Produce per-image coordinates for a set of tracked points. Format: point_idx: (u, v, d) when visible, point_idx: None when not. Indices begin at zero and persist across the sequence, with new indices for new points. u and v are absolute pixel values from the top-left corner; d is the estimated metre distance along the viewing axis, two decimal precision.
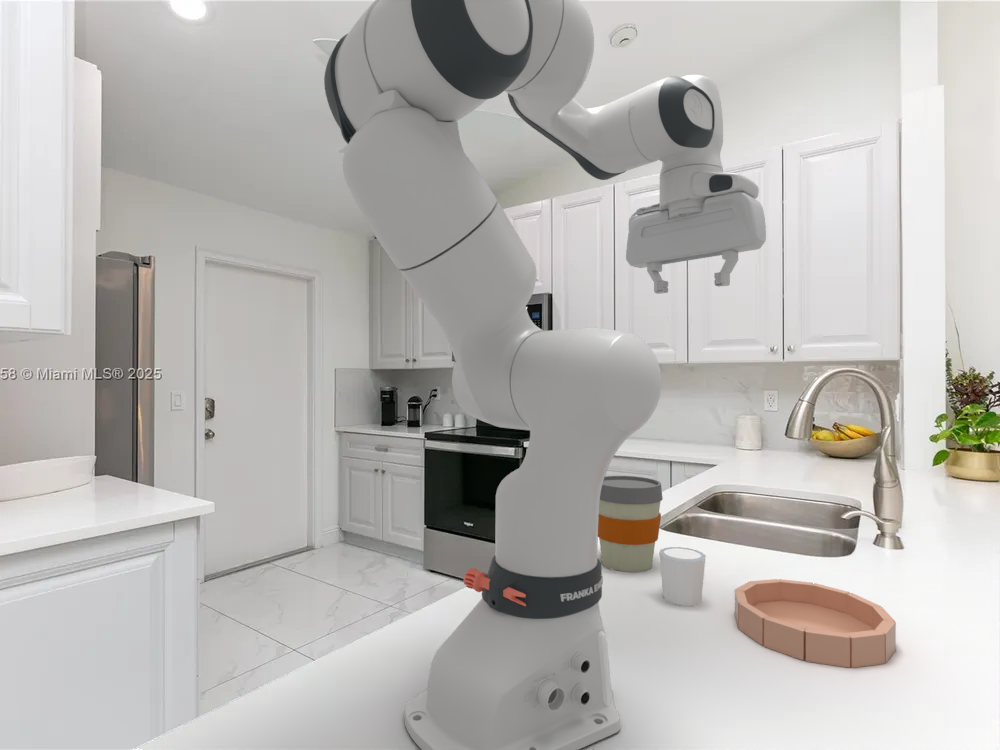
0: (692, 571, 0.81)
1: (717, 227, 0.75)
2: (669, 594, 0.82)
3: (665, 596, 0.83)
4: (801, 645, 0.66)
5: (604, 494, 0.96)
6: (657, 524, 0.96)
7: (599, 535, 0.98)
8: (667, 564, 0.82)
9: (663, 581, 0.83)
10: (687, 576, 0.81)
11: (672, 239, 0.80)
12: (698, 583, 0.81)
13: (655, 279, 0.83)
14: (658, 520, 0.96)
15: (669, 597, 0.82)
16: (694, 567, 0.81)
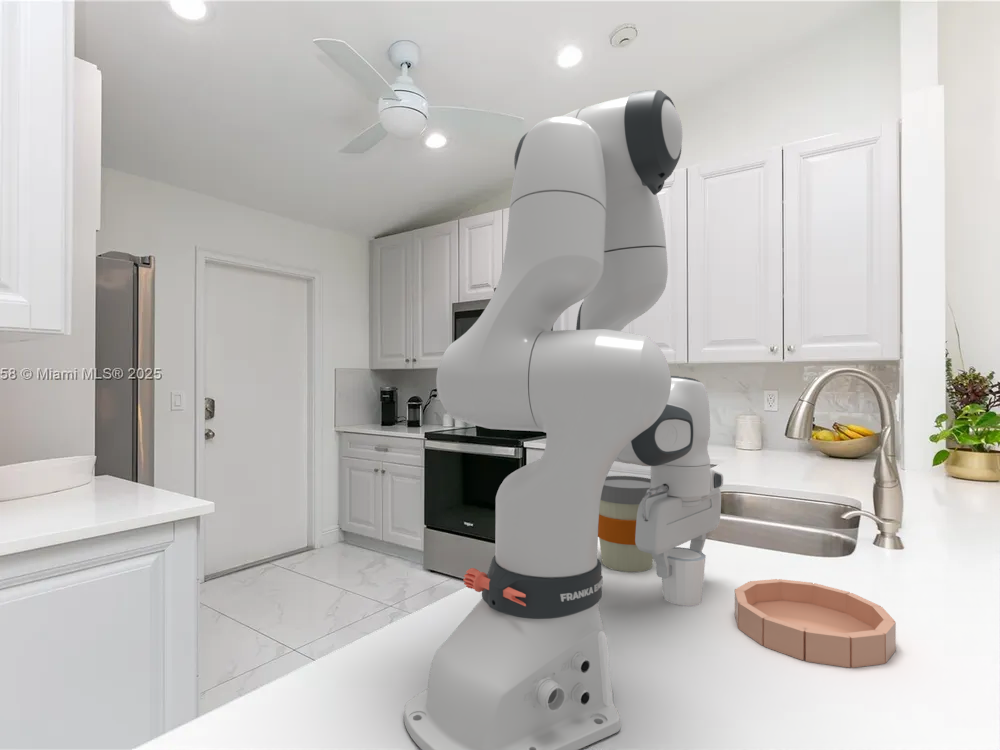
0: (692, 571, 0.81)
1: (705, 514, 0.86)
2: (669, 594, 0.82)
3: (665, 596, 0.83)
4: (801, 645, 0.66)
5: (604, 494, 0.96)
6: None
7: (599, 535, 0.98)
8: None
9: (663, 581, 0.83)
10: (687, 576, 0.81)
11: (684, 526, 0.82)
12: (698, 583, 0.81)
13: (668, 565, 0.80)
14: None
15: (669, 597, 0.82)
16: (694, 567, 0.81)
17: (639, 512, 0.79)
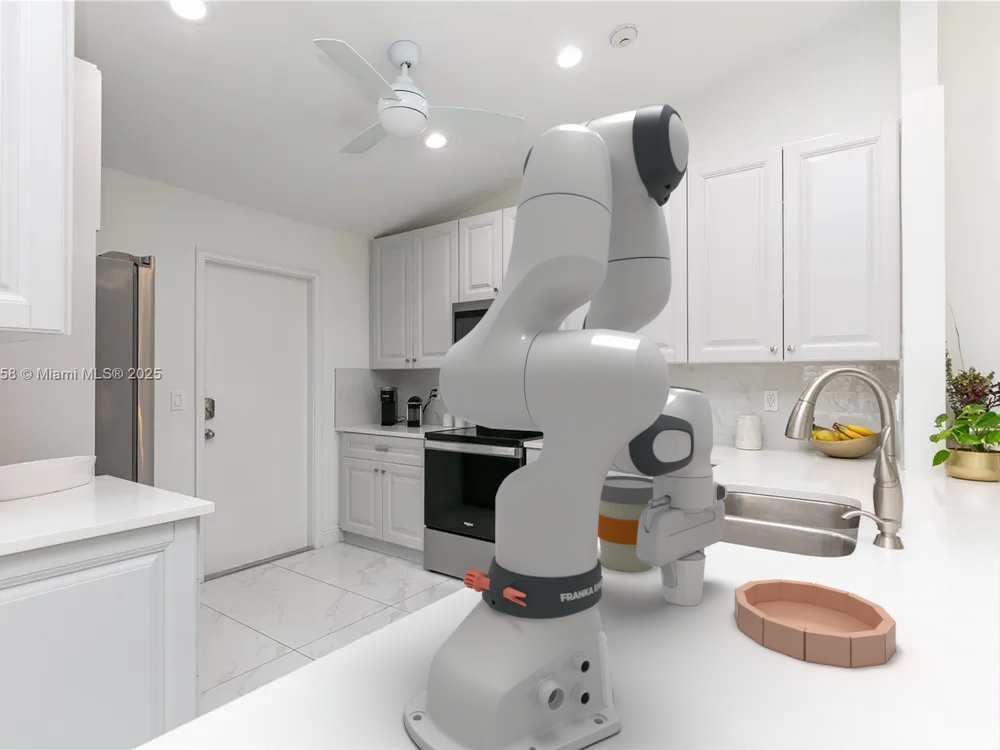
0: (692, 571, 0.81)
1: (708, 526, 0.86)
2: (669, 594, 0.82)
3: (665, 596, 0.83)
4: (801, 645, 0.66)
5: (604, 494, 0.96)
6: None
7: (599, 535, 0.98)
8: None
9: (663, 581, 0.83)
10: (687, 576, 0.81)
11: (687, 538, 0.81)
12: (698, 583, 0.81)
13: (675, 575, 0.81)
14: None
15: (669, 597, 0.82)
16: (694, 567, 0.81)
17: (640, 523, 0.78)
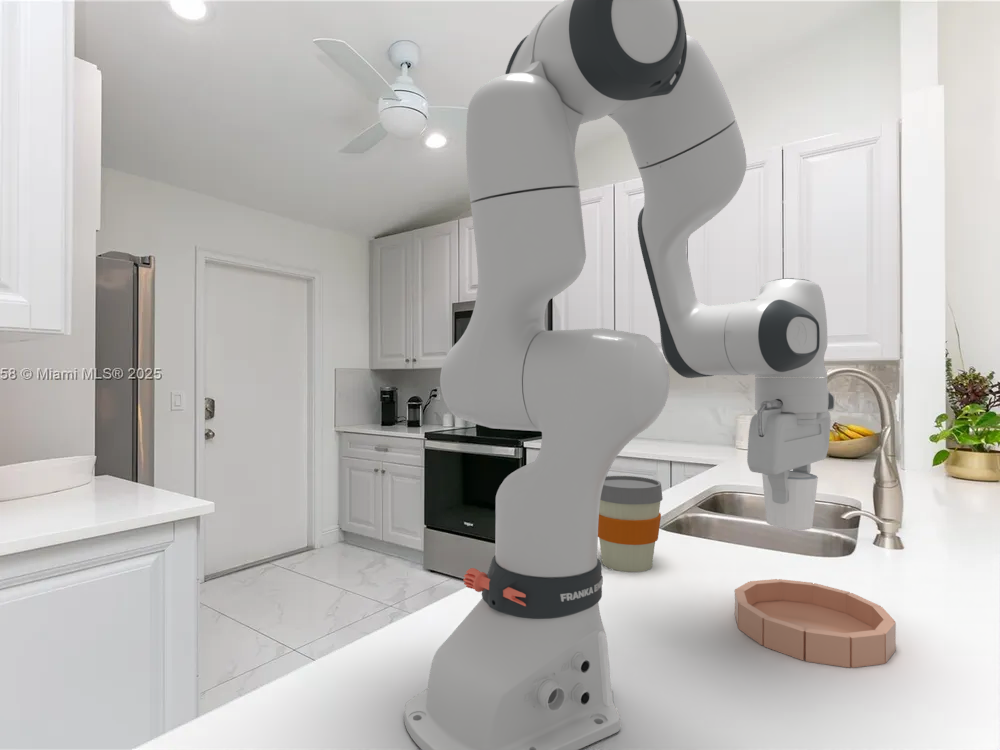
0: (804, 490, 0.72)
1: (816, 440, 0.77)
2: (776, 518, 0.74)
3: (770, 521, 0.75)
4: (801, 645, 0.66)
5: (604, 494, 0.96)
6: (657, 524, 0.96)
7: (599, 535, 0.98)
8: None
9: (768, 504, 0.75)
10: (798, 496, 0.72)
11: (799, 448, 0.72)
12: (810, 505, 0.72)
13: (787, 489, 0.72)
14: (658, 520, 0.96)
15: (776, 521, 0.74)
16: (806, 486, 0.72)
17: (752, 428, 0.69)
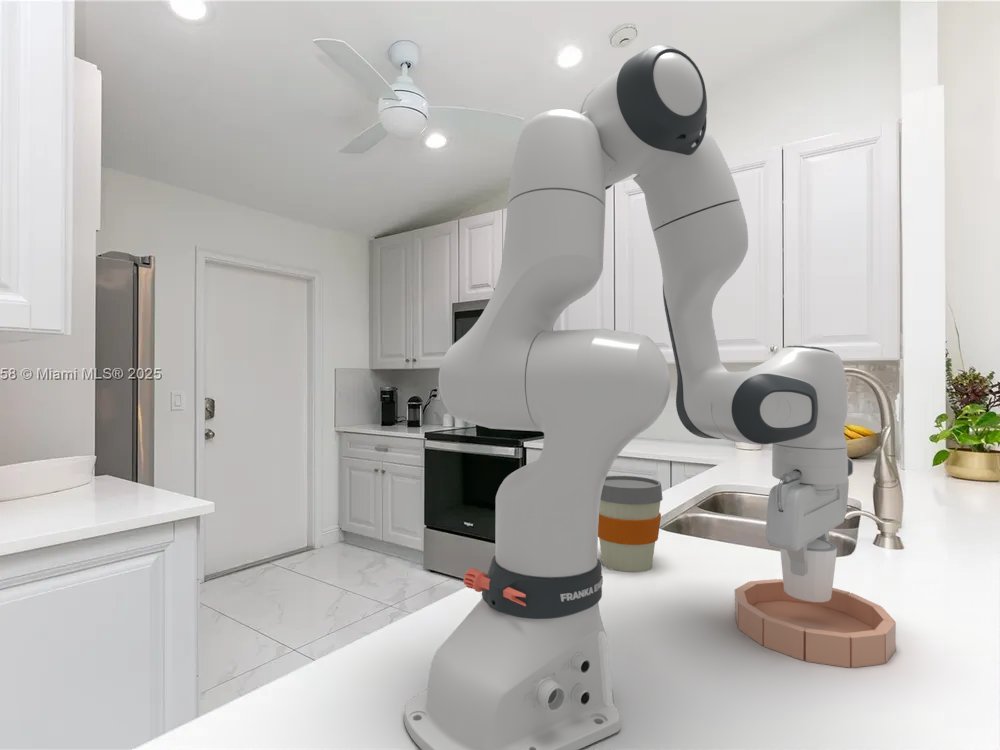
0: (824, 563, 0.70)
1: (834, 506, 0.75)
2: (794, 589, 0.72)
3: (788, 591, 0.73)
4: (801, 645, 0.66)
5: (604, 494, 0.96)
6: (657, 524, 0.96)
7: (599, 535, 0.98)
8: None
9: (785, 573, 0.73)
10: (818, 568, 0.71)
11: (818, 519, 0.71)
12: (829, 576, 0.71)
13: (806, 561, 0.70)
14: (658, 520, 0.96)
15: (794, 592, 0.72)
16: (826, 558, 0.70)
17: (771, 501, 0.68)
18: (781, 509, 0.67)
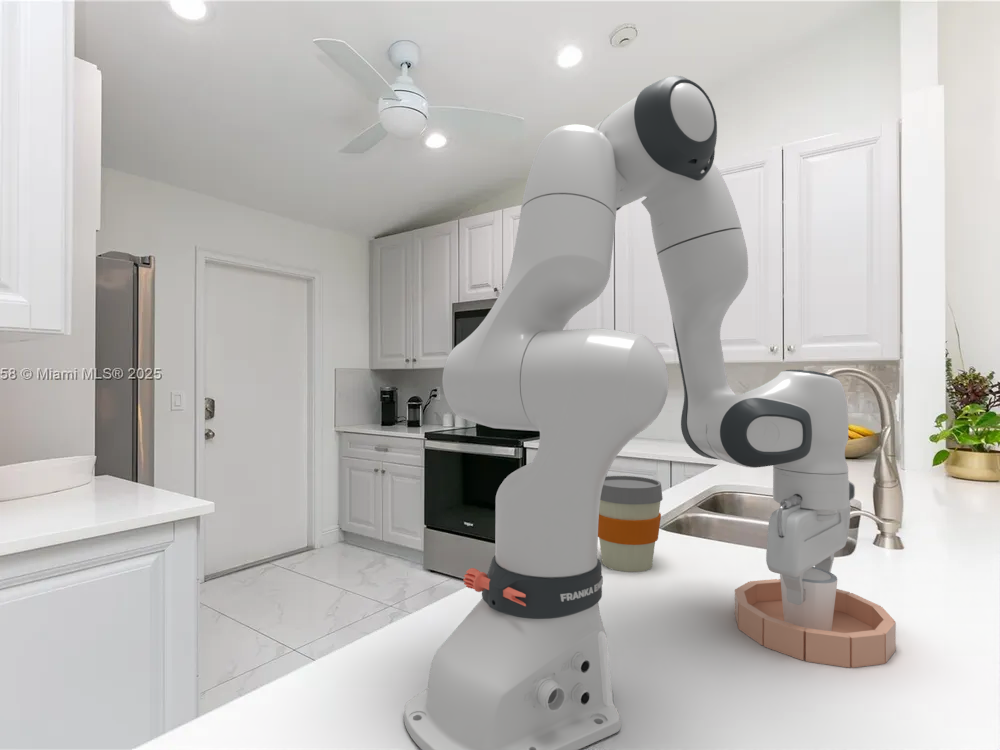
0: (823, 594, 0.70)
1: (835, 530, 0.75)
2: (794, 620, 0.72)
3: None
4: (801, 645, 0.66)
5: (604, 494, 0.96)
6: (657, 524, 0.96)
7: (599, 535, 0.98)
8: None
9: (785, 604, 0.73)
10: (817, 600, 0.70)
11: (819, 544, 0.71)
12: (830, 608, 0.70)
13: (802, 589, 0.69)
14: (658, 520, 0.96)
15: (794, 623, 0.72)
16: (826, 590, 0.70)
17: (771, 527, 0.68)
18: (781, 535, 0.66)
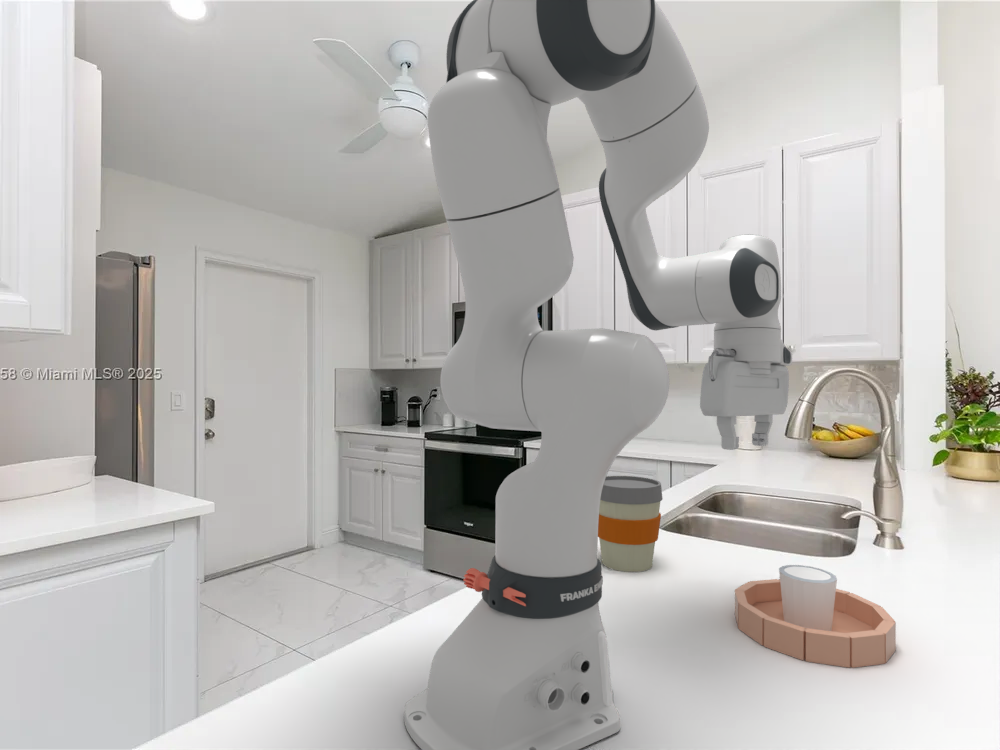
0: (823, 594, 0.70)
1: (772, 393, 0.80)
2: (793, 620, 0.72)
3: None
4: (801, 645, 0.66)
5: (604, 494, 0.96)
6: (657, 524, 0.96)
7: (599, 535, 0.98)
8: (792, 585, 0.72)
9: (785, 604, 0.73)
10: (817, 600, 0.70)
11: (752, 396, 0.76)
12: (829, 608, 0.70)
13: (735, 435, 0.74)
14: (658, 520, 0.96)
15: (794, 623, 0.72)
16: (825, 590, 0.70)
17: (705, 373, 0.73)
18: (713, 378, 0.72)
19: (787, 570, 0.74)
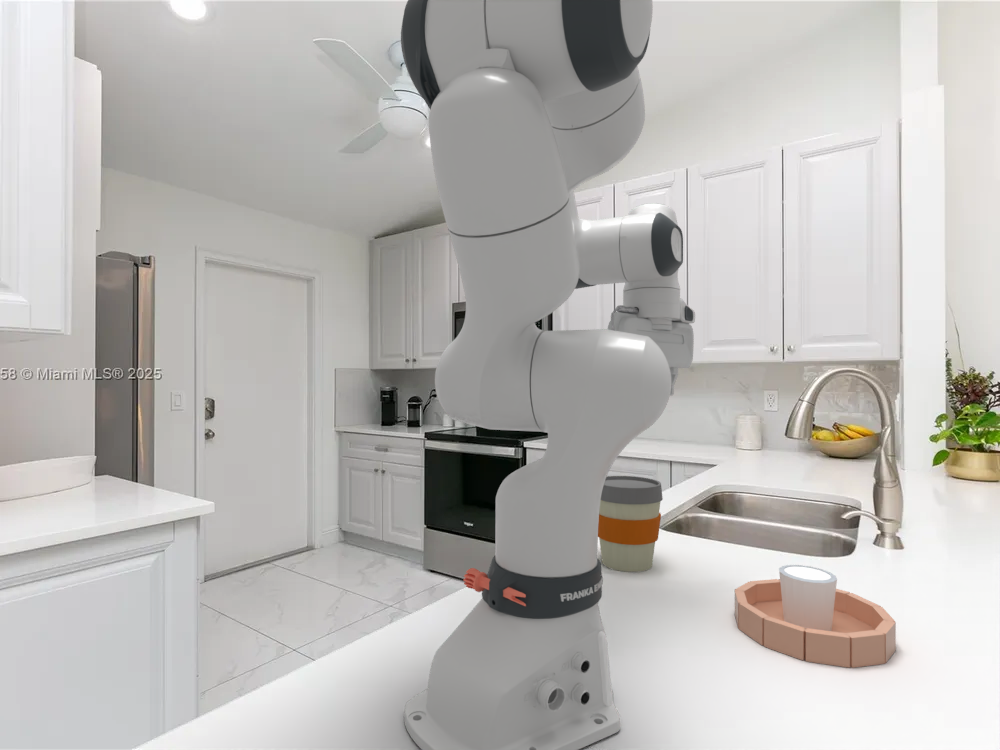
0: (823, 594, 0.70)
1: (676, 347, 0.89)
2: (793, 620, 0.72)
3: None
4: (801, 645, 0.66)
5: (604, 494, 0.96)
6: (657, 524, 0.96)
7: (599, 535, 0.98)
8: (792, 585, 0.72)
9: (785, 604, 0.73)
10: (817, 600, 0.70)
11: None
12: (829, 608, 0.70)
13: None
14: (658, 520, 0.96)
15: (794, 623, 0.72)
16: (825, 590, 0.70)
17: (609, 328, 0.82)
18: None
19: (787, 570, 0.74)
